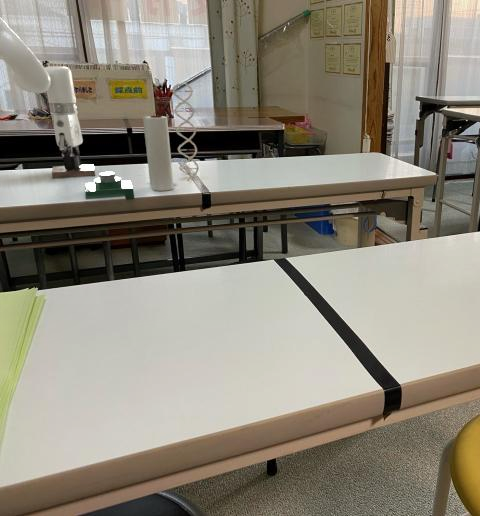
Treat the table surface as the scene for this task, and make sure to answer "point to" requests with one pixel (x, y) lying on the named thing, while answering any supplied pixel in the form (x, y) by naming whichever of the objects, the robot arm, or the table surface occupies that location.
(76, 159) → the dial
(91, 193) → the green stepped block
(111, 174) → the button
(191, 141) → the dna model
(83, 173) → the warmer panel
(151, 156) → the paper towel roll
